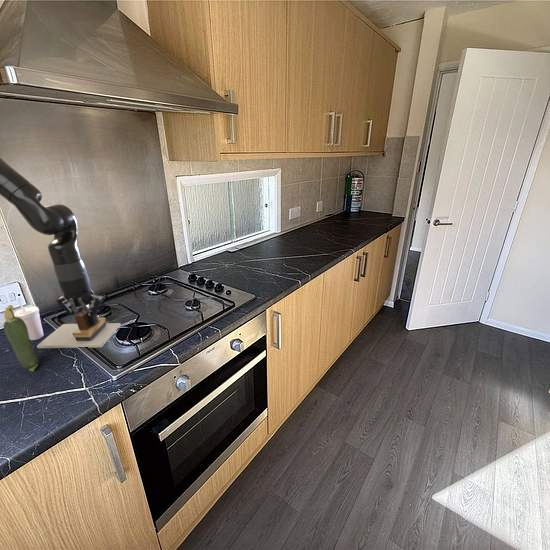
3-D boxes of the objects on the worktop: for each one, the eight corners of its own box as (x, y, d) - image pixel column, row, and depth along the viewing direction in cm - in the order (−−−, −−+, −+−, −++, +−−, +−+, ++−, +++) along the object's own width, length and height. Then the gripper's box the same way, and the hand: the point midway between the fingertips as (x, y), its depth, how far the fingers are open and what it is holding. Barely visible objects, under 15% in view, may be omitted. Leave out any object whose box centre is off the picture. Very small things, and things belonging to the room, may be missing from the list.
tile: (37, 348, 90) (36, 345, 89) (64, 326, 101) (63, 323, 100) (101, 347, 89) (100, 344, 88) (121, 325, 100) (120, 323, 99)
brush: (91, 341, 90) (83, 319, 87) (75, 341, 90) (67, 319, 87) (107, 324, 98) (100, 304, 95) (92, 325, 98) (85, 304, 95)
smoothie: (35, 331, 98) (19, 294, 93) (53, 331, 98) (38, 294, 92) (19, 342, 92) (1, 304, 87) (38, 342, 92) (21, 304, 86)
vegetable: (19, 373, 79) (-12, 309, 71) (33, 362, 83) (5, 301, 75) (33, 374, 79) (4, 310, 71) (47, 363, 83) (20, 301, 75)
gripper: (102, 269, 89) (116, 318, 96) (58, 270, 90) (75, 318, 96) (87, 279, 82) (104, 331, 89) (39, 280, 83) (59, 332, 90)
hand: (88, 324), depth 93 cm, fingers closed on brush, 2 cm apart
